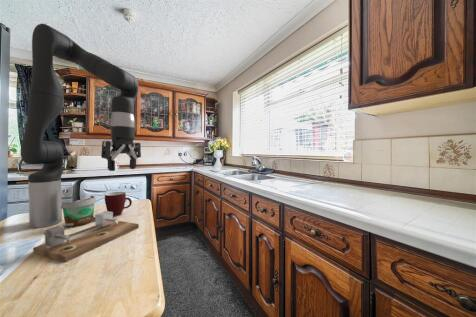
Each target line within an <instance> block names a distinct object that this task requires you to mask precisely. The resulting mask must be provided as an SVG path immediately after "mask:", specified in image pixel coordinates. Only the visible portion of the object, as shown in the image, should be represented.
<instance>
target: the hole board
mask: <svg viewBox="0 0 476 317" xmlns="http://www.w3.org/2000/svg"><path fill="white" fill-rule="evenodd" d="M139 225H140V224H139V223H136V222H135V223H134V222H128V221H122V220H118V225H117V226H115V222H113V223H112V224H109V225H106V226H104V227H100V226H95V225H92V226H90V227H87V228H85V229H82V230H79V231H77V232H76V231H75V232H74V233H71V234H68V235H67V234H65V226H61V225H60V226H59V225H56V226H53V227H50V228H46V229H44V237H45V238H44V243H43V244H39V245H37V246H34V247H33V251H32V253H34V254H35V255H36V254H37V255H40V256H44V257H47V258H51V259H55V260H58V261H62V262H64V263H67V262H69V261H72V260H73V259H76V258H78V257H80V256H81V255H84V254H86V253H88V252H91V251H93V250H95V249H97V248H99V247H101V246H103V245H106V244H107V243H109V242H112V241H114V240H116V239H118V238H121V237H122V236H124V235H126V234H128V233H131V232H134V231H135V230H137V229H139V227H140V226H139Z"/></svg>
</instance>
